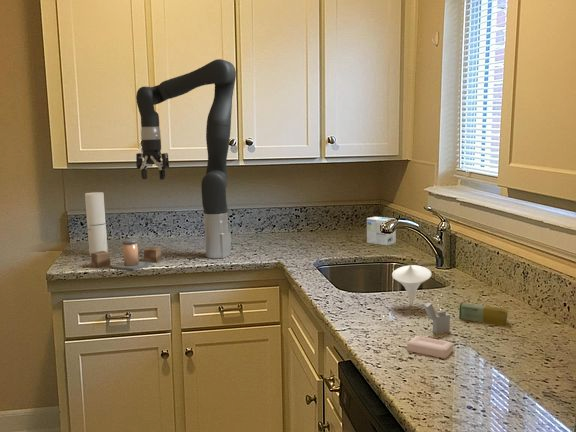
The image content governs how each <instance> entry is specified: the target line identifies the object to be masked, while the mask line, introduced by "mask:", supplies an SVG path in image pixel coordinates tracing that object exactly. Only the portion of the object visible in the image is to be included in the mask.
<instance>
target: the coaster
mask: <svg viewBox="0 0 576 432" xmlns="http://www.w3.org/2000/svg"><path fill="white" fill-rule="evenodd" d="M151 265H152V263H151V262H144V261H142V260H141V261H140V260H139V264H138V265H133V266H125V265H124V261H123V262H121V263H118V264H115V265H112V266H111V269H114V270H124V271H137V270H140V269H142V268H145V267H148V266H151Z"/></svg>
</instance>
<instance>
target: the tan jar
mask: <svg viewBox="0 0 576 432" xmlns="http://www.w3.org/2000/svg"><path fill="white" fill-rule="evenodd" d="M121 243H122V250H123V262H124V265H125V266H133V265H138V264H139V261H140V260H139V248H138V247H139V246H138V238H127V239H123V240H122V242H121Z"/></svg>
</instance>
